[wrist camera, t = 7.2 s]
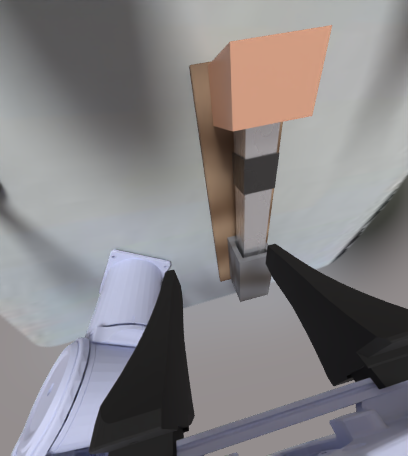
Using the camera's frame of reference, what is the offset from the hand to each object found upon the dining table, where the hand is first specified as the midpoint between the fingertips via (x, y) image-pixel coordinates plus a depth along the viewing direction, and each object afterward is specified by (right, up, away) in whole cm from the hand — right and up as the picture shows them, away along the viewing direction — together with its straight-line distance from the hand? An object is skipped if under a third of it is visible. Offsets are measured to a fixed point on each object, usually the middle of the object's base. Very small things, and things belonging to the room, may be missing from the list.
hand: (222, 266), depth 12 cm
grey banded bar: (+3, +7, +5) cm, 9 cm away
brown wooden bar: (+3, +5, +9) cm, 11 cm away
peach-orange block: (+2, +14, +1) cm, 14 cm away
